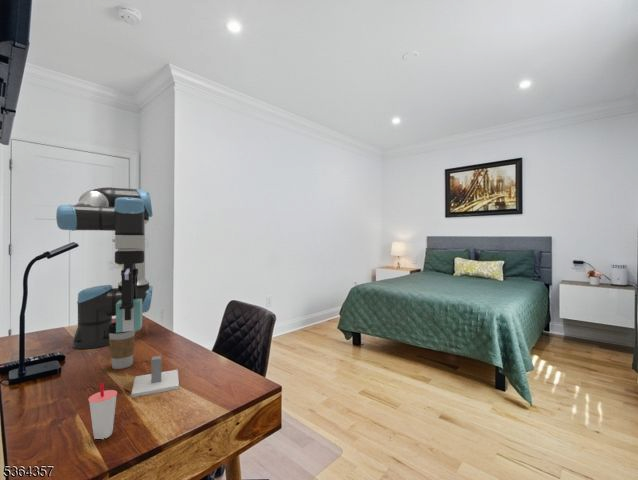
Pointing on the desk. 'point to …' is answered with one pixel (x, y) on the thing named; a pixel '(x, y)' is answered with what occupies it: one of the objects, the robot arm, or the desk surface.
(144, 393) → the post stand
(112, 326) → the coffee cup
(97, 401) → the cup
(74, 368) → the desk surface
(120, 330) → the teal rectangular block
